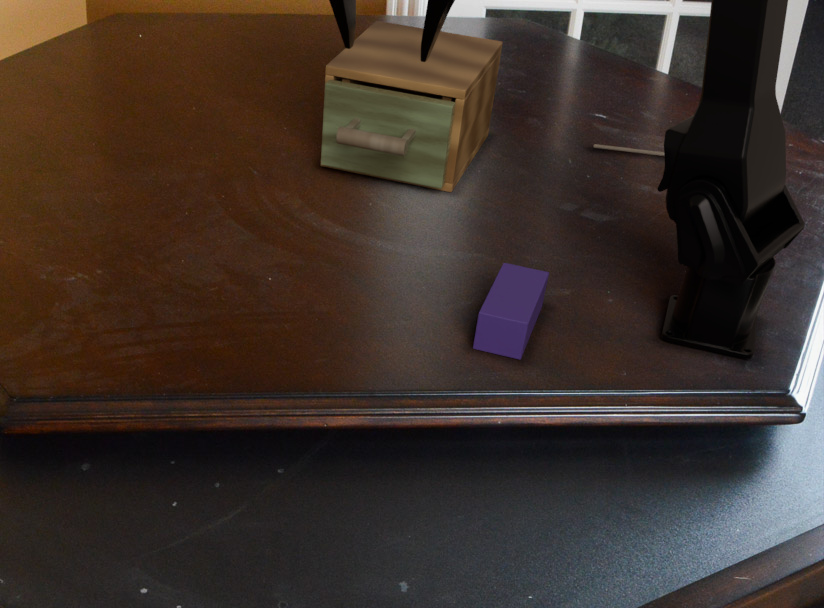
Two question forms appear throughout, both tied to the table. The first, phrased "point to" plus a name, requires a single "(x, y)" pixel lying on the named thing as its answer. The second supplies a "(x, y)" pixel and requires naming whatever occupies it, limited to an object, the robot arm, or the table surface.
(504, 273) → the purple rectangular prism
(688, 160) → the robot arm
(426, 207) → the table surface
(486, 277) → the table surface
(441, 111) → the drawer
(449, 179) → the cabinet
